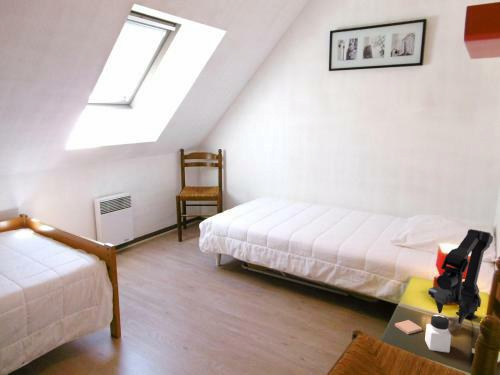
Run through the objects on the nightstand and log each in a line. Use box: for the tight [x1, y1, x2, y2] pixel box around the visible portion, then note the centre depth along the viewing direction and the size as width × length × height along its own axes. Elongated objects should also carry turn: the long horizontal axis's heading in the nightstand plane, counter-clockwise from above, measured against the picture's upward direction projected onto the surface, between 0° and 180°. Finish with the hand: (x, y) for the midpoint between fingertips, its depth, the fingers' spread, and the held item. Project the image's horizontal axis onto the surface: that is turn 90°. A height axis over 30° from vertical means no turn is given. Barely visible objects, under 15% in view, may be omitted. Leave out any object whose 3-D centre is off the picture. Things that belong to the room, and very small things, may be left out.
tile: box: [394, 319, 423, 335], centre depth 155 cm, size 2×7×8 cm
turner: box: [447, 316, 463, 333], centre depth 154 cm, size 16×5×4 cm, turn 114°
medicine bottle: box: [424, 314, 453, 353], centre depth 141 cm, size 7×7×12 cm
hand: (449, 318), depth 154 cm, fingers open, 9 cm apart
